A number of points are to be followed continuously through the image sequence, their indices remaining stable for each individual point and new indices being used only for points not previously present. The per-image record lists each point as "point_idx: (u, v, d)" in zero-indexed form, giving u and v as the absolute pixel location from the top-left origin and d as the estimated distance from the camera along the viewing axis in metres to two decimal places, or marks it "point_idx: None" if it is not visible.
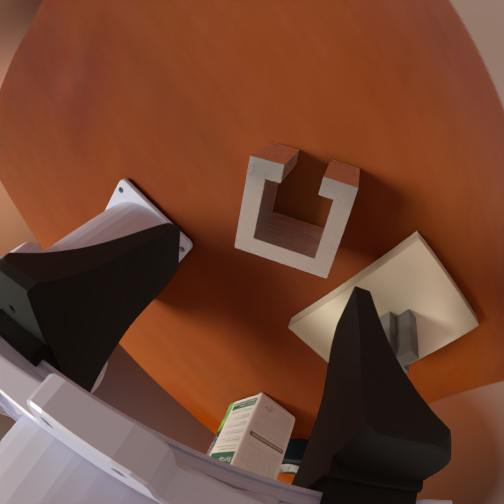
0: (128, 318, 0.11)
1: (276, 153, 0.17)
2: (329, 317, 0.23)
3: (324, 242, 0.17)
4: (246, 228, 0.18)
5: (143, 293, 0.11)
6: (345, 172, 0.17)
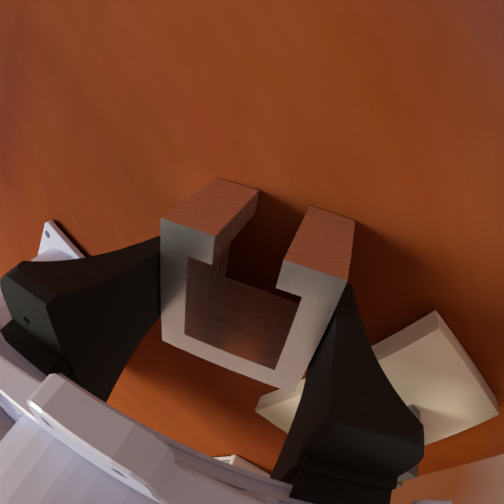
0: (144, 325, 0.11)
1: (212, 205, 0.10)
2: None
3: (289, 353, 0.10)
4: (173, 321, 0.11)
5: (159, 300, 0.11)
6: (328, 238, 0.10)
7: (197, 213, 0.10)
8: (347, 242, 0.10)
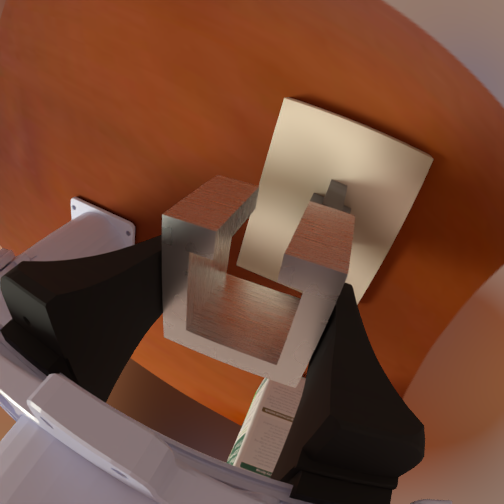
0: (144, 325, 0.11)
1: (213, 201, 0.11)
2: (262, 232, 0.21)
3: (290, 348, 0.10)
4: (175, 317, 0.12)
5: (159, 300, 0.11)
6: (329, 232, 0.10)
7: (198, 209, 0.10)
8: (347, 236, 0.10)
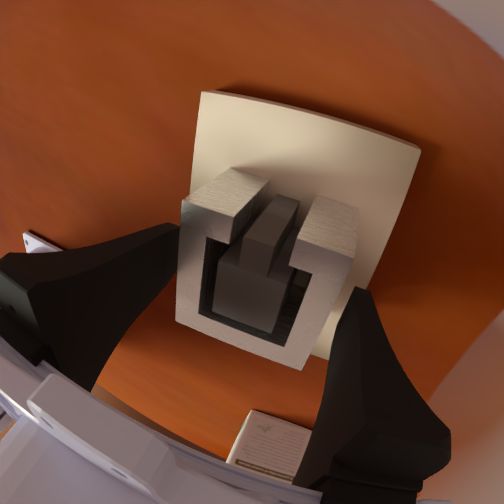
0: (128, 317, 0.11)
1: (228, 191, 0.11)
2: None
3: (298, 329, 0.11)
4: (188, 300, 0.12)
5: (143, 293, 0.11)
6: (335, 222, 0.11)
7: (215, 197, 0.11)
8: (352, 226, 0.11)
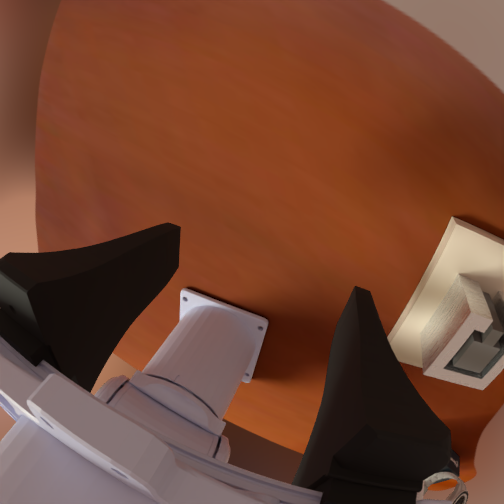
0: (128, 317, 0.11)
1: (476, 299, 0.15)
2: (413, 331, 0.21)
3: (493, 369, 0.15)
4: (441, 362, 0.16)
5: (143, 293, 0.11)
6: None
7: (477, 306, 0.15)
8: None
